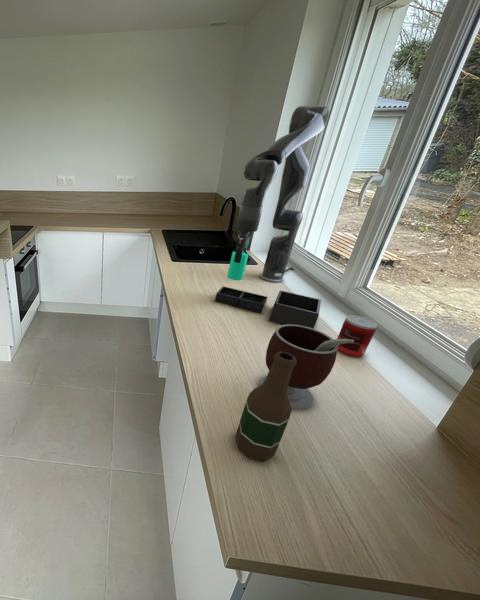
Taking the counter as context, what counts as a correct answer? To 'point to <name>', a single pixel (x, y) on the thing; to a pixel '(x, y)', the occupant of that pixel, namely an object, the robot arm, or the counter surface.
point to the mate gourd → (304, 359)
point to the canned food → (356, 335)
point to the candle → (237, 267)
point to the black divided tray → (241, 299)
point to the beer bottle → (266, 411)
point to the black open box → (295, 310)
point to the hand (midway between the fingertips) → (238, 259)
